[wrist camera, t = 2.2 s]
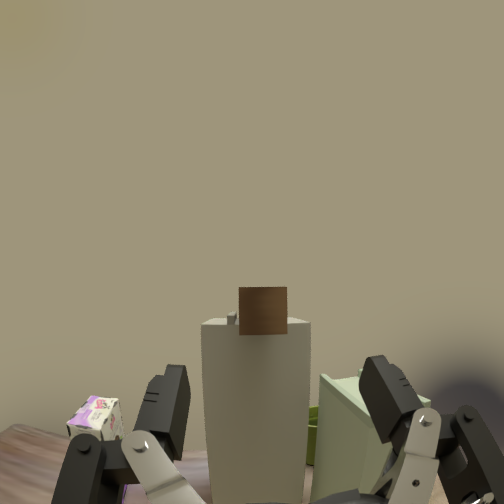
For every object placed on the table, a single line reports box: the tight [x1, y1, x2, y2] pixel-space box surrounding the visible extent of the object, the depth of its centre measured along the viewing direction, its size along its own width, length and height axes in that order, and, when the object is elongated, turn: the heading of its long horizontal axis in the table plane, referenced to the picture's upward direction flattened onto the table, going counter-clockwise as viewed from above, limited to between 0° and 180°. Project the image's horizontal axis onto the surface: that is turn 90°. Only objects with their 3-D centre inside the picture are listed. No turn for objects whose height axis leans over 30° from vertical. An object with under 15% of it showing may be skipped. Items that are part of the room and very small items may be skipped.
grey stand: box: [201, 312, 311, 504], centre depth 32 cm, size 12×12×33 cm
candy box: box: [66, 396, 127, 504], centre depth 31 cm, size 14×6×16 cm, turn 14°
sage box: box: [310, 369, 431, 503], centre depth 22 cm, size 6×15×25 cm, turn 2°
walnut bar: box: [239, 287, 288, 335], centre depth 32 cm, size 4×26×4 cm, turn 2°
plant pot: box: [306, 406, 319, 465], centre depth 44 cm, size 12×12×11 cm
